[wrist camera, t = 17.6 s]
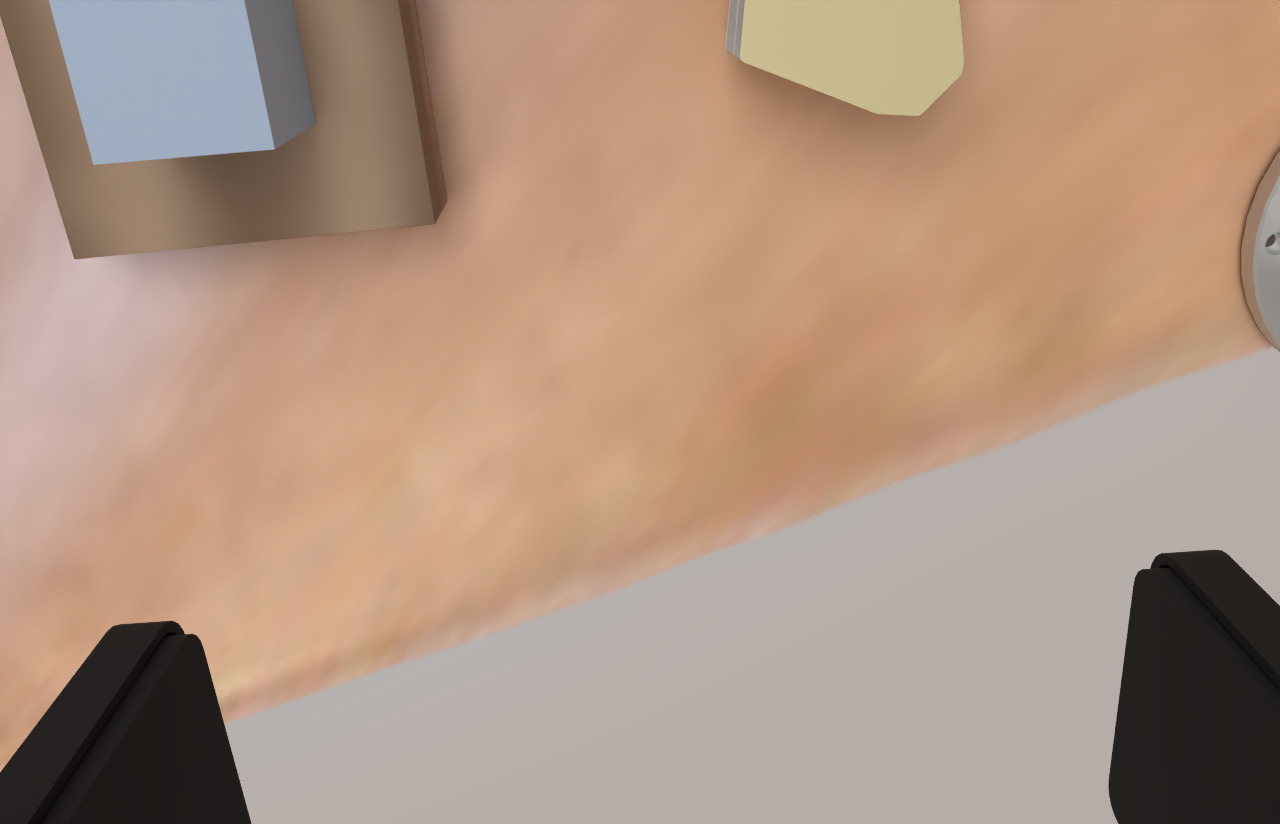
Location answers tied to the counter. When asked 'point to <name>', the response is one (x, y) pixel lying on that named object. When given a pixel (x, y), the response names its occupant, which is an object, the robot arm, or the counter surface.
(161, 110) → the slate cube
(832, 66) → the stacked layers on plate
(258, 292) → the counter surface
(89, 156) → the walnut block
